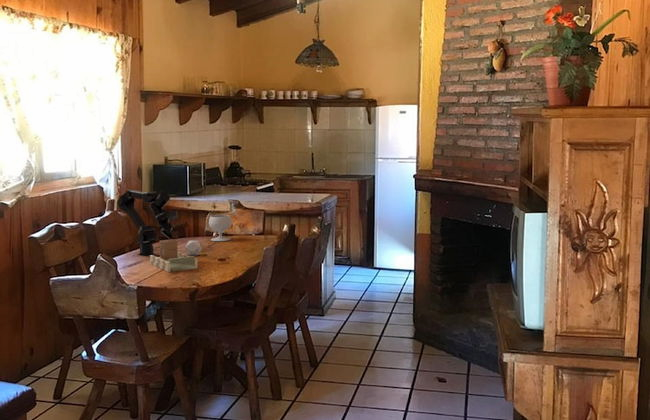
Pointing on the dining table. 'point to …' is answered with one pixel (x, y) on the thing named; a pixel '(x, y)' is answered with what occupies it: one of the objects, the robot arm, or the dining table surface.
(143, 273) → the dining table surface
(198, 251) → the die
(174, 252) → the walnut block
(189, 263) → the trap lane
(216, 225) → the chalice
